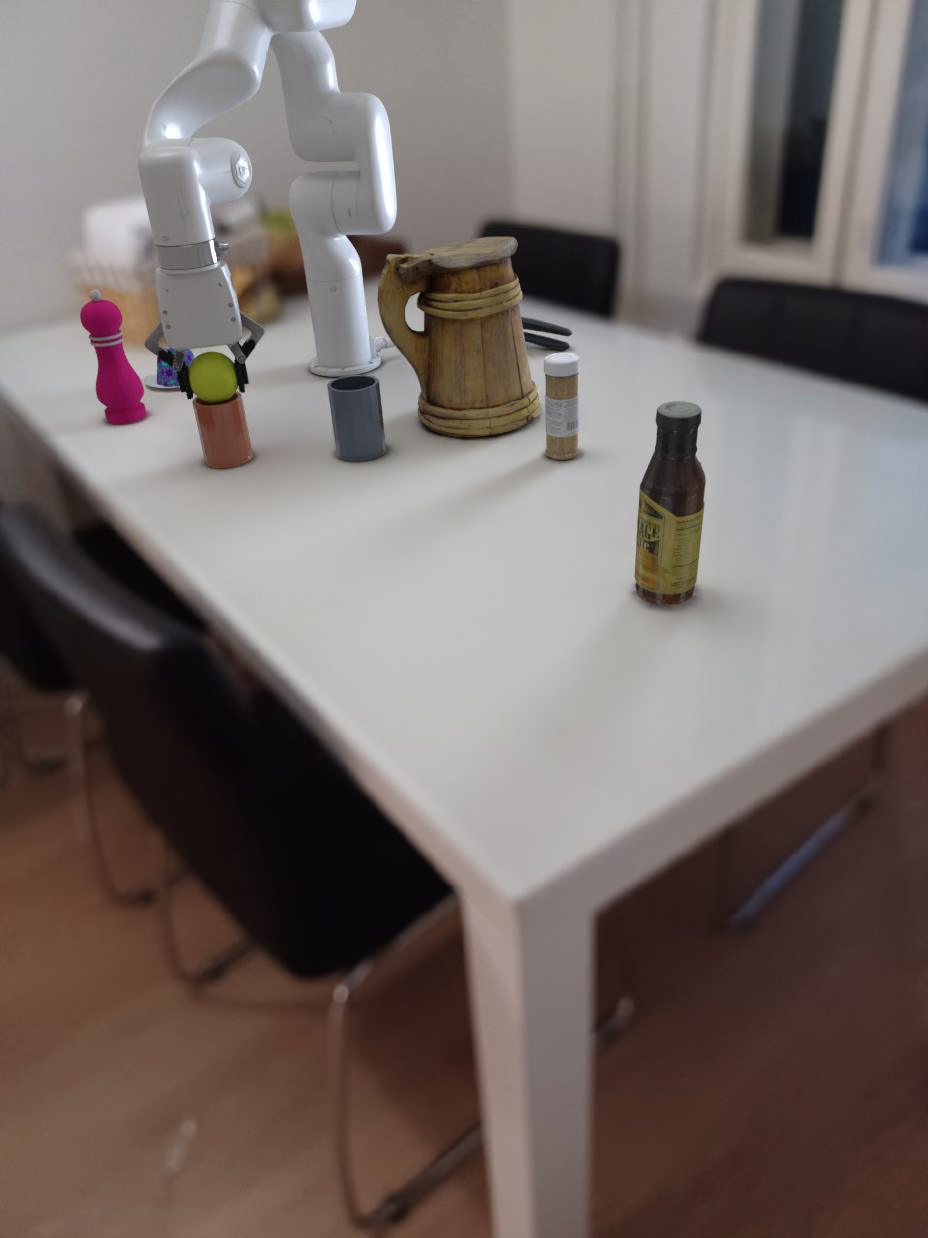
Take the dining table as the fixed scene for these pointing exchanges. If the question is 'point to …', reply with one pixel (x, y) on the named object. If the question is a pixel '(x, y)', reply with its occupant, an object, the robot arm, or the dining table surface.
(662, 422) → the sauce bottle
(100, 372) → the pepper mill
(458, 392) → the tankard
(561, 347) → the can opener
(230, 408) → the terracotta cup
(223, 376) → the ball
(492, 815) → the dining table surface
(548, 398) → the sprinkles bottle
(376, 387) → the grey cup
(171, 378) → the pudding
